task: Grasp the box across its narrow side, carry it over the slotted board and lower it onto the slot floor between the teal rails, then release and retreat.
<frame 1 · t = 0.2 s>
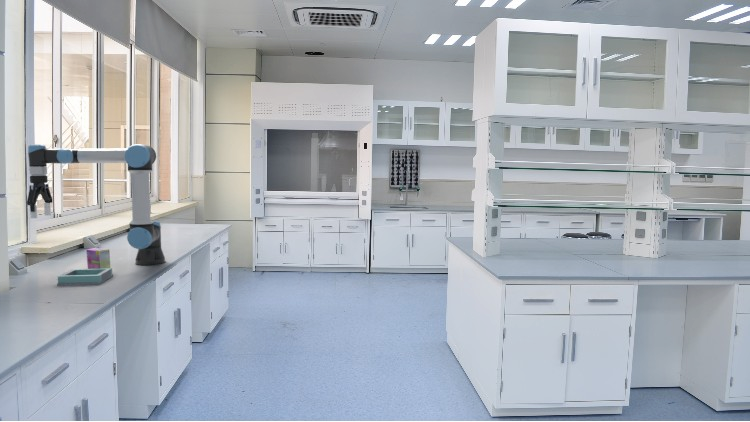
hand: (41, 216, 268), 28 cm above the countertop, fingers open, 13 cm apart
box: (99, 272, 267), on the countertop
slot board: (86, 280, 248), on the countertop
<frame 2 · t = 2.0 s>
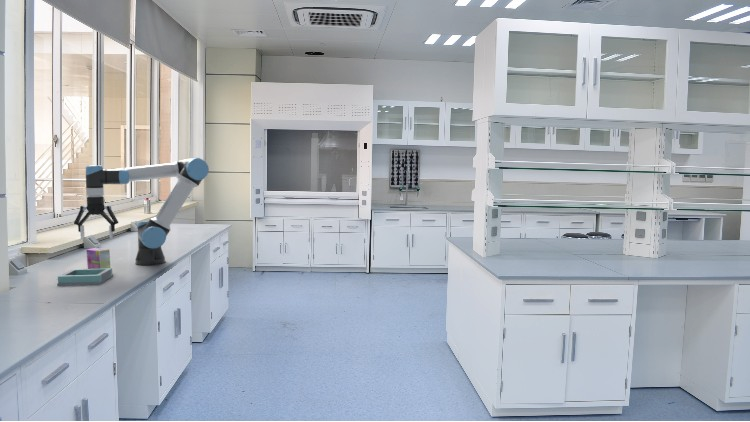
hand: (97, 238, 265), 17 cm above the countertop, fingers open, 13 cm apart
nothing on the countertop moved.
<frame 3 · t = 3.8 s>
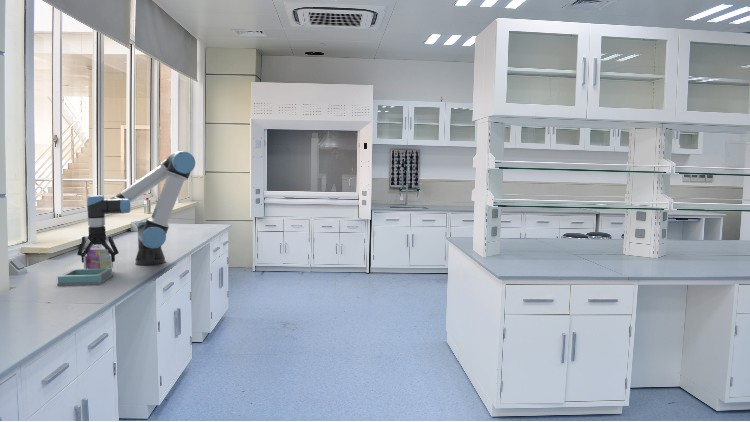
hand: (98, 268, 266), 2 cm above the countertop, fingers closed on box, 11 cm apart
box: (99, 272, 266), on the countertop, touching gripper
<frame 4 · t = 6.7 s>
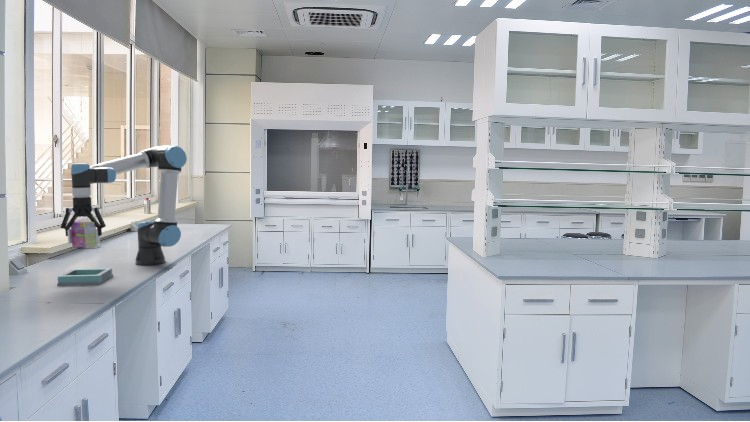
hand: (84, 242, 246), 18 cm above the countertop, fingers closed on box, 11 cm apart
box: (84, 247, 246), point 16 cm above the countertop, touching gripper
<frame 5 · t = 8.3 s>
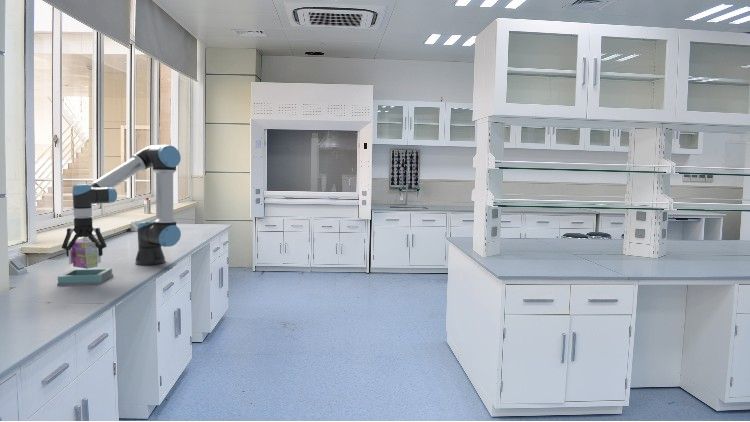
hand: (85, 263, 247), 8 cm above the countertop, fingers closed on box, 11 cm apart
box: (85, 267, 247), point 6 cm above the countertop, touching gripper
when the fingers open (5 cm above the countertop, at t = 9.7 s): box drops 2 cm, resting on slot board.
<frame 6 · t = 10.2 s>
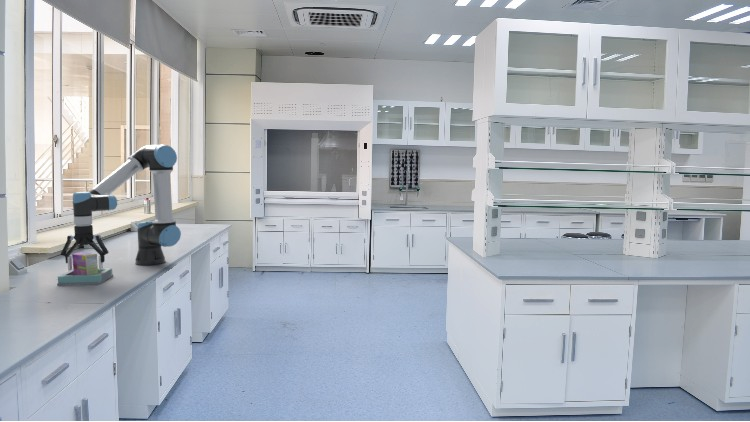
hand: (85, 269, 247), 5 cm above the countertop, fingers open, 13 cm apart
box: (86, 278, 248), point 1 cm above the countertop, touching slot board
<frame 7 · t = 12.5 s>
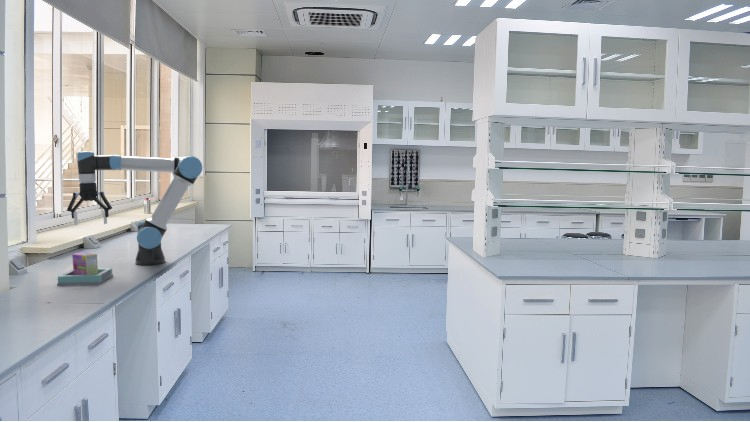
hand: (91, 224, 266), 24 cm above the countertop, fingers open, 13 cm apart
nothing on the countertop moved.
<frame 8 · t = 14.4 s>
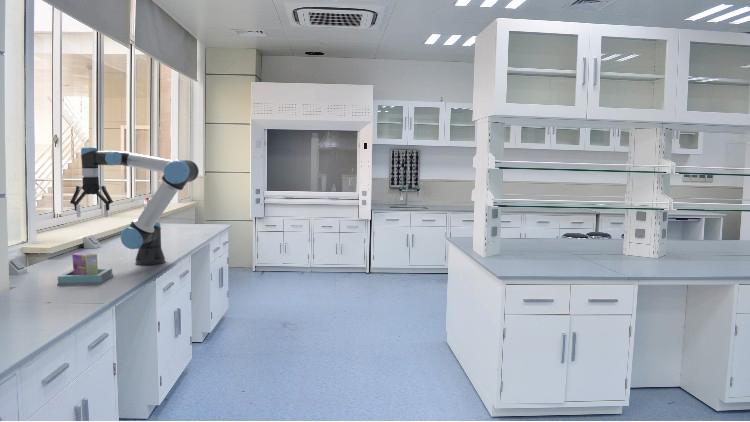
hand: (92, 216, 277), 27 cm above the countertop, fingers open, 13 cm apart
nothing on the countertop moved.
at the end: box inside the target area on the slot board (0.1 cm from its centre), point 0.8 cm above the slot board's base; box tilted 0°; the gripper is holding nothing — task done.
